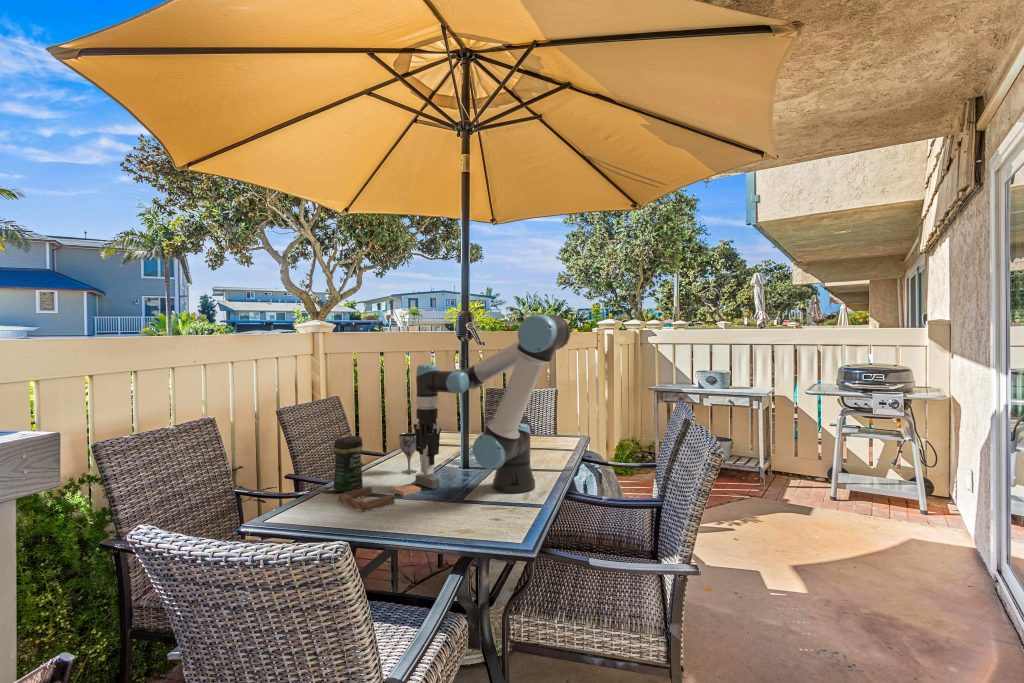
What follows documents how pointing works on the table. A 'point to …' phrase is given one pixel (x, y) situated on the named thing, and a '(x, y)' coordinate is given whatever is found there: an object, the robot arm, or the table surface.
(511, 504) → the table surface
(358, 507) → the frame
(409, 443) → the wine glass
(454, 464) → the table surface
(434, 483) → the scraper
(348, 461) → the coffee jar
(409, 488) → the tile
